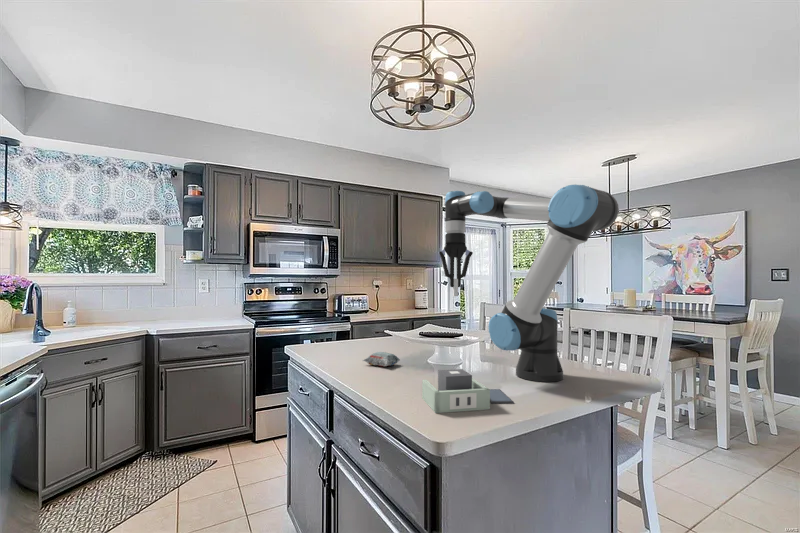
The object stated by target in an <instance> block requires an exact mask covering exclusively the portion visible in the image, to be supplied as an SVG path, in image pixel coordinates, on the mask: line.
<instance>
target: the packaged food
mask: <svg viewBox="0 0 800 533" xmlns="http://www.w3.org/2000/svg"><path fill="white" fill-rule="evenodd" d="M400 361H401V359H400V358H399V357H398V356H397V355H396V354H394V353H390V352H386V351H377V352H372V353H371V354H369V355H368V356H367V357H366V358H364V359H362V362H366V363H367V364H368V365H370V366H375V367H376V366H377V367H380V368H382V367H390V366H393V365H396V364H397V363H398V362H400Z"/></svg>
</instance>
